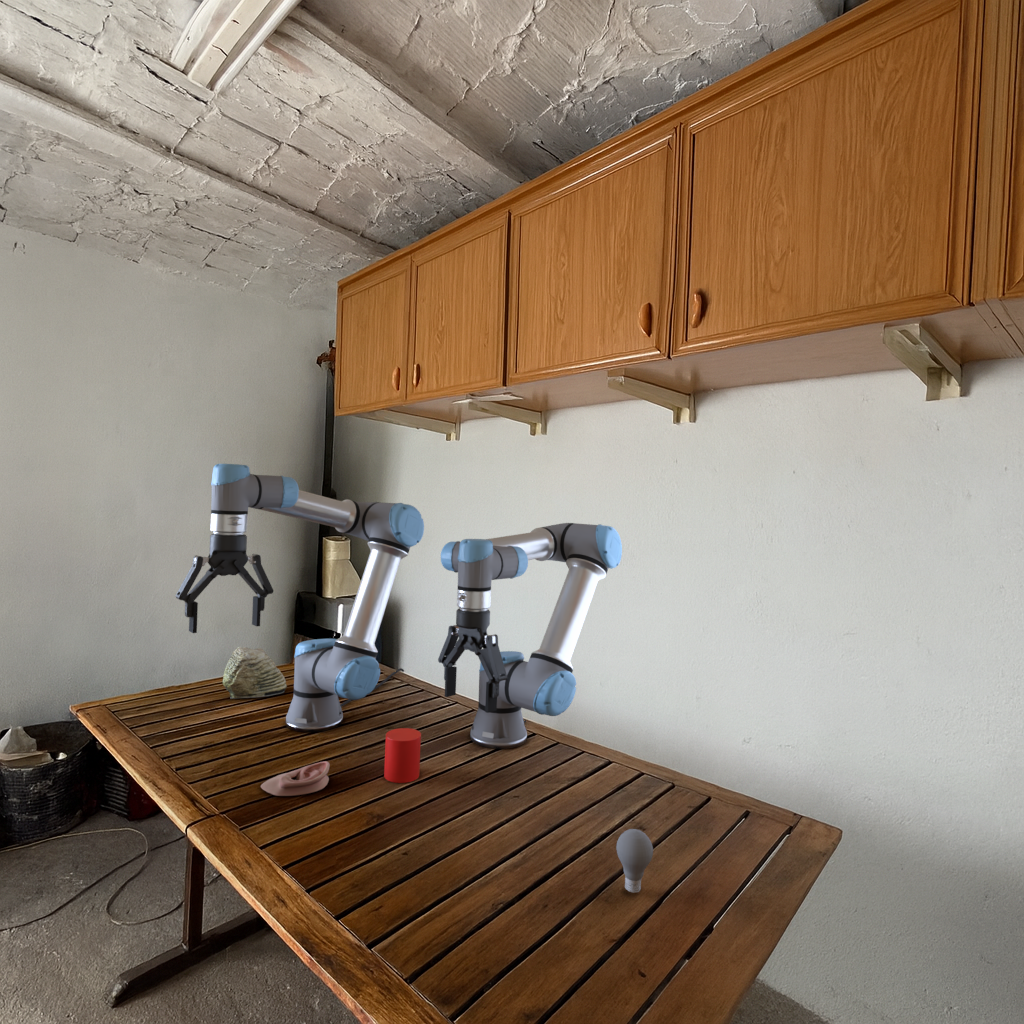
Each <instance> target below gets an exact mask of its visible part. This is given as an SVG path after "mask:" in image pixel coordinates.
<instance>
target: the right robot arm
mask: <svg viewBox="0 0 1024 1024" xmlns="http://www.w3.org/2000/svg"><path fill="white" fill-rule="evenodd" d="M622 554H623V544H622V540H621V536H620V533H619V532H618V531H617V530H616V528H615V527H613V526H612V525H611V526H610V525H603V524H602V523H601V524H600V523H598V524H590V523H588V524H587V523H577V522H576V523H575V522H562V523H557V524H551V525H545V526H541V527H536V528H534V529H532V530H531V531H530V532H525V533H517V534H511V535H505V536H499V537H491V538H463V539H462V540H461V541H460V540H457V541H449V542H447V543H445V544H444V546H443V547H442V549H441V551H440V562H441V565H442V567H443V568H444V569H445V570H446V571H450V572H453V573H456V574H457V589H456V590H457V593H456V597H457V598H456V606H457V609H456V614H455V624H453V625H449V626H448V631H447V636H446V639H445V641H444V644H443V646H442V648H441V651H440V653H439V656H438V659H437V662H438V663H439V664H442V666H443V668H444V671H443V672H444V673H443V680H444V697H445V698H448V697H453V696H456V693H457V670H458V667H457V664H456V663H457V661H458V660H459V659H460V657H461V656H462V655H463V654H464V652H465V651H469V652H471V653H474V655H476V656H477V658H478V659H479V661H480V664H479V669H478V672H479V675H478V707H477V711H476V714H475V716H474V719H473V723H472V726H470V727H471V728H470V735H469V738H470V740H471V742H473V743H474V744H476V745H477V746H481V747H484V748H487V749H488V748H489V749H495V750H496V749H497V750H500V749H501V750H503V749H512V748H513V749H514V748H517V747H520V746H522V745H524V744H526V742H527V740H528V732H527V731H528V730H527V728H526V726H525V724H526V723H527V719H526V718H525V719H524V715H523V713H522V709H524V710H528V711H531V712H535V713H537V714H539V715H543V716H548V717H557V716H560V715H561V714H563V713H564V712H566V711H567V710H568V709H569V707H570V706H571V704H572V702H573V700H574V698H575V696H576V692H577V687H576V685H577V679H576V676H575V675H574V674H573V672H574V667H573V665H572V662H571V660H572V657H573V654H574V651H575V648H576V646H577V642H578V641H579V637H580V634H581V631H582V628H583V626H584V622H585V620H586V617H587V614H588V611H589V608H590V605H591V602H592V601H593V597H594V594H595V591H596V588H597V585H598V582H599V581H600V580H603V579H605V578H606V577H607V573H608V570H609V569H610V570H611V569H612V570H613V569H615V568H617V567H618V566H619V565H620V563H621V561H622V557H623V556H622ZM531 560H536V561H538V562H546V561H553V562H560V563H565V565H566V567H567V568H568V571H567V574H566V577H565V579H564V582H563V585H562V587H561V590H560V592H559V595H558V598H557V601H556V603H555V606H554V609H553V611H552V614H551V617H550V620H549V621H548V625H547V627H546V630H545V633H544V636H543V638H542V641H541V643H540V646H539V649H537V650H535V651H532V652H531V654H530V656H529V659H528V661H526V660H525V656H524V654H523V652H521V651H517V650H516V651H515V650H514V651H513V650H511V651H510V650H506V651H501V650H500V646H499V635H498V634H496V633H495V634H488V628H489V626H490V624H491V623H490V622H491V611H490V608H491V606H492V605H491V604H492V602H491V601H492V581H496V580H506V579H507V580H508V579H514V578H519V577H521V576H523V575H524V574H525V573H526V571H527V569H528V566H529V561H531ZM524 720H525V721H524Z"/></svg>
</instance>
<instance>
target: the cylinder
mask: <svg viewBox="0 0 1024 1024" xmlns="http://www.w3.org/2000/svg"><path fill="white" fill-rule="evenodd" d="M421 743H422V732H421V731H419V730H417V729H415V728H411V727H400V728H394V729H390V730H389V731H387V732H386V734H385V743H384V746H385V747H384V767H383V768H384V769H383V774H384V775H383V777H384V779H385V780H386V781H388V782H390V783H396V784H405V783H406V784H407V783H410V782H414V781H416V780H417V779H418V778H419V777H420V771H421V769H420V768H421V749H422V748H421Z"/></svg>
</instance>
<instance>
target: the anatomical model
mask: <svg viewBox="0 0 1024 1024" xmlns="http://www.w3.org/2000/svg"><path fill="white" fill-rule="evenodd" d="M330 766H331V765H330V762H329V761H327V760H325V761H320V762H316V763H312V764H309V765H306V766H302V767H300V768H298V769H295V770H292V771H289V772H285V773H281V774H278V775H276V776H273V777H271V778H269V779H267V780H266V781H264V782H262V783H261V785H260V788H261V789H262V790H263V791H264V792H266V793H268V794H270V795H273V796H276V797H293V796H300V795H301V796H302V795H307V794H311V793H315V792H318V791H321V790H323V789H324V788H325V787H326V786H328V783H329V781H330V778H329V776H328V773H329V770H330Z"/></svg>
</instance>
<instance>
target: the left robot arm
mask: <svg viewBox="0 0 1024 1024" xmlns="http://www.w3.org/2000/svg"><path fill="white" fill-rule="evenodd" d="M210 485H211V500H210V501H211V502H210V503H211V504H210V505H211V506H210V526H209V530H210V532H211V534H210V535H209V553H208V556H201V555H198V554H196V555H194V556H193V559H192V564H191V567H190V569H189V571H188V572H187V574H186V575H185V578H184V580H183V581H182V582H181V585H180V587H179V589H178V590H177V592H176V593H175V598H176V599H177V600H179V601H183V602H184V616H185V617H186V618H188V619H189V620H188V622H189V623H188V632H190V633H192V634H197V633H198V611H199V610H198V607H199V603H198V602H197V601H195V600H196V599H197V598H198V597H199V596H200V595H201V594H202V593H203V591H204V590H205V589H207V587H208V586H209V585H210V583H212V581H213V580H214V579H216V578H217V577H218V576H221V577H226V576H237V575H239V576H240V577H241V579H243V581H244V582H245V583H246V584H247V585H248V586H249V588H250V589H251V590H252V592H253V593H255V596H252V610H251V611H252V613H251V615H252V616H251V625H252V626H254V627H261V612H264V610H265V606H266V605H265V603H266V598H267V597H268V595H272V594H273V593H274V588H273V586H272V584H271V582H270V580H269V578H268V576H267V573H266V571H265V569H264V567H263V565H262V558H261V555H260V554H257V553H252V554H250V555H249V554H248V555H247V548H248V536H247V534H245V533H247V532H248V518H249V517H248V516H249V509H250V508H251V509H254V510H259V511H264V512H269V513H273V514H277V515H281V516H286V517H288V518H289V517H290V518H294V519H298V520H303V521H305V522H306V521H307V522H310V523H311V522H312V523H315V524H320V525H324V526H329V527H333V528H335V530H336V531H337V532H339V533H342V534H346V535H350V536H353V537H356V538H359V539H361V540H364V541H367V546H368V548H369V550H370V552H369V555H368V558H367V561H366V565H365V568H364V571H363V574H362V577H361V580H360V583H359V586H358V589H357V592H356V595H355V598H354V601H353V605H352V607H351V611H350V614H349V617H348V620H347V622H346V626H345V628H344V632H343V634H342V636H340V637H339V638H317V639H308V640H304V641H300V642H299V643H297V645H296V646H295V650H294V655H293V657H294V672H293V673H294V674H293V695H292V696H293V697H292V699H291V702H290V704H289V708H288V711H287V713H286V715H285V726H286V728H287V729H289V730H291V731H294V732H295V731H296V732H301V733H316V732H325V731H329V730H332V729H335V728H337V727H339V726H340V725H342V723H343V722H344V714H343V709H342V707H344V706H346V705H347V704H349V703H350V702H352V701H357V700H360V699H363V698H366V696H367V695H370V693H372V692H373V691H374V690H377V689H378V688H380V687H382V686H383V685H384V684H385V683H386V682H388V680H390V678H392V677H393V676H394V675H396V674H397V673H399V672H400V671H401V672H403V673H404V672H405V670H404V668H402V667H401V668H398V669H396V670H395V671H396V672H395V671H393V672H392V673H390V674H389V675H388V676H387V677H386V678H384V679H383V680H382V681H381V682H380V683H378V682H379V680H380V676H381V667H380V664H379V661H378V660H377V656H378V652H379V651H378V649H377V647H376V644H375V643H376V640H377V638H378V635H379V631H380V627H381V624H382V621H383V618H384V615H385V611H386V608H387V605H388V601H389V598H390V595H391V592H392V589H393V586H394V582H395V580H396V577H397V574H398V570H399V567H400V563H401V560H402V559H405V558H406V557H408V556H409V552H410V549H411V548H412V547H414V546H417V544H419V543H420V542H421V540H422V539H423V537H424V532H425V521H424V519H423V517H422V514H421V512H420V510H418V508H417V507H415V506H414V505H411V504H407V503H403V502H380V501H357V500H352V499H348V498H347V499H344V500H339V499H335V498H331V497H327V496H323V495H320V494H316V493H313V492H308V491H305V490H301V489H300V488H299V485H298V482H297V480H296V479H295V478H293V477H291V476H285V475H269V474H253V473H251V472H250V467H249V465H248V464H238V463H217V464H215V465H213V468H212V477H211V483H210ZM248 562H249V564H250V565H251V566H252V568H253V571H254V573H255V574H256V576H257V579H258V581H259V583H260V585H261V586H260V585H259V583H257V581H256V580H255V579H254V577H252V575H251V574H250V573H249V571H248V570H247V569H246V567H245V566H246V565H247V563H248ZM206 564H208V565H209V566H210V567H209V568H208V570H206V572H205V574H204V575H203V576H202V577H201V578H200V579H199V581H198V582H197V583H196V584H195V585H194V583H195V581H196V579H197V577H199V575H200V573H201V570H202V567H204V566H205V565H206ZM193 585H194V586H193ZM192 587H193V588H192ZM339 698H341V699H346V700H345V701H343V702H342V703H341V702H340V699H339Z"/></svg>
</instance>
